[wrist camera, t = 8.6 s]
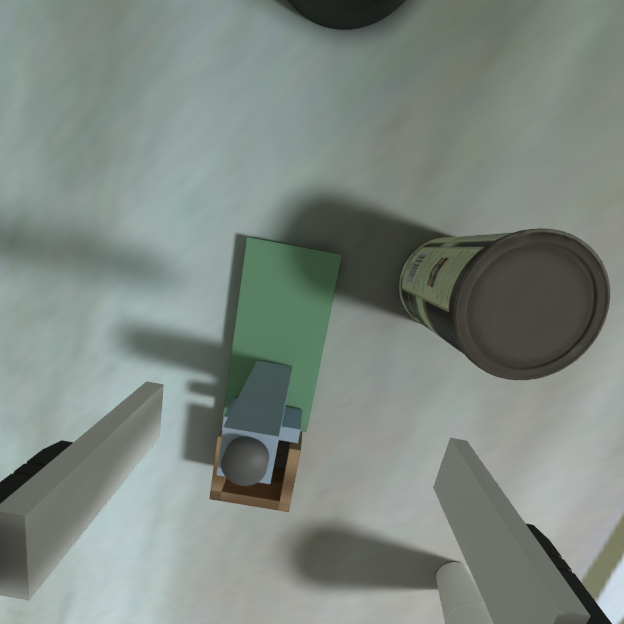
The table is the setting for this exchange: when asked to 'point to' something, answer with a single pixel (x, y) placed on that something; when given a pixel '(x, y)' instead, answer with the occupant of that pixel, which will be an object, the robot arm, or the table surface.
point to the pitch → (283, 317)
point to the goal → (259, 484)
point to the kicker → (258, 426)
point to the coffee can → (510, 298)
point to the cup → (460, 596)
